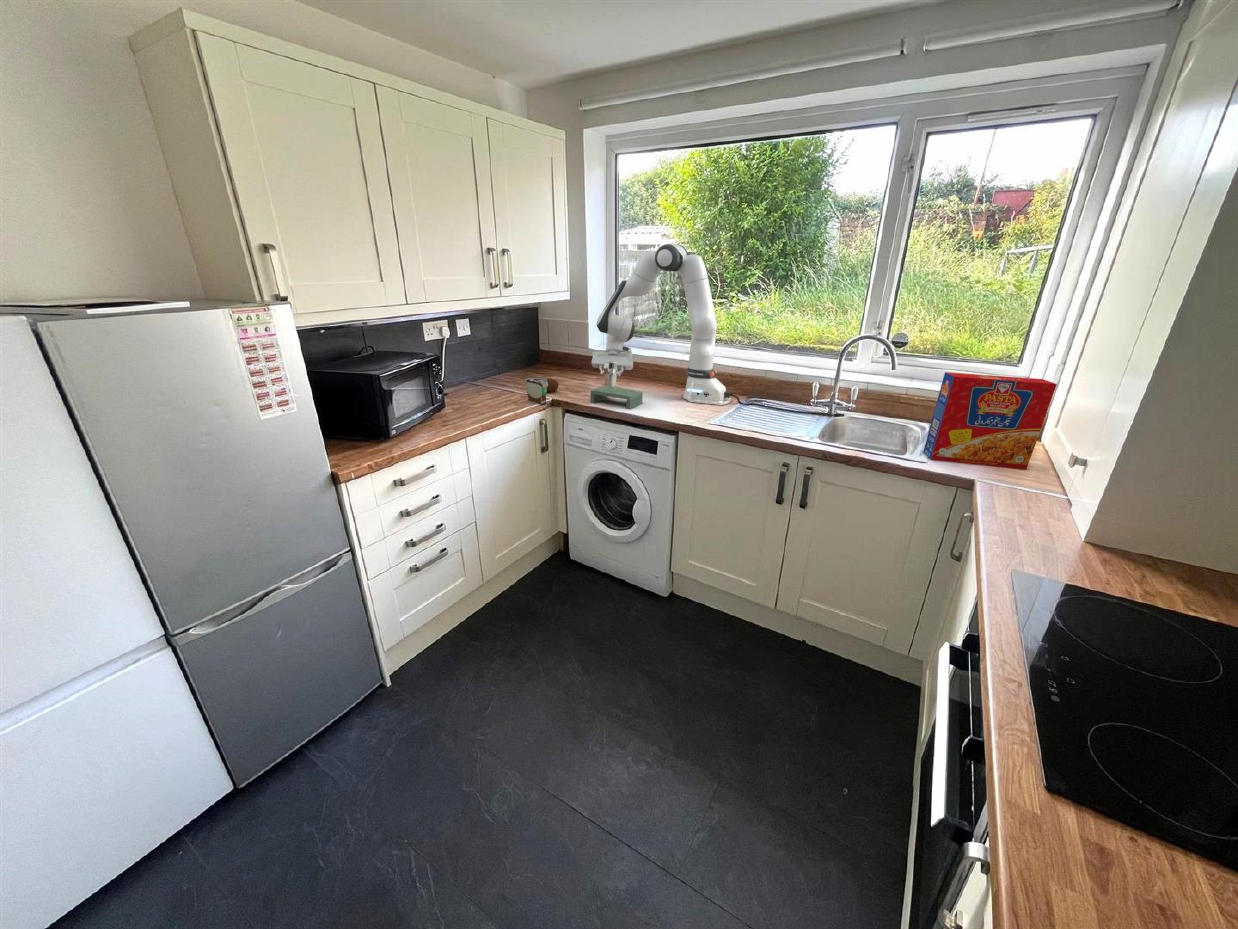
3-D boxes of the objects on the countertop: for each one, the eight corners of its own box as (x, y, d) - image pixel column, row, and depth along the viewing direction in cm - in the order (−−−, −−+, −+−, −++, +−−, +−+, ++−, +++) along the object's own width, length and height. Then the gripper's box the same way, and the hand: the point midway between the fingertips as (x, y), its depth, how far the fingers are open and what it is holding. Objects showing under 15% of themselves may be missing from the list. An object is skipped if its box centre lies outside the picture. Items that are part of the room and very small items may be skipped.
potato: (562, 390, 242) (562, 377, 240) (548, 394, 233) (548, 381, 231) (552, 388, 245) (552, 375, 243) (538, 392, 236) (537, 379, 233)
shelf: (642, 403, 224) (642, 391, 222) (629, 409, 214) (630, 396, 212) (603, 397, 233) (604, 385, 231) (590, 402, 223) (590, 390, 221)
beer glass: (607, 389, 247) (608, 359, 242) (619, 391, 244) (620, 360, 239) (600, 392, 242) (600, 361, 236) (612, 394, 238) (613, 362, 233)
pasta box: (930, 459, 166) (954, 376, 156) (923, 452, 174) (944, 372, 163) (1026, 469, 160) (1057, 384, 150) (1014, 461, 168) (1042, 379, 158)
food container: (554, 403, 218) (554, 381, 214) (543, 405, 214) (542, 382, 210) (537, 398, 226) (536, 376, 222) (526, 400, 222) (525, 378, 218)
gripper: (592, 346, 243) (588, 369, 238) (634, 348, 240) (630, 372, 235) (594, 354, 249) (590, 377, 243) (635, 356, 246) (631, 379, 241)
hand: (610, 374), depth 239 cm, fingers closed on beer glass, 7 cm apart
